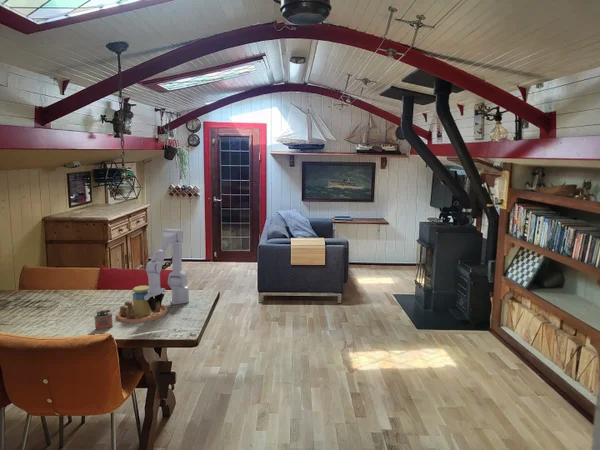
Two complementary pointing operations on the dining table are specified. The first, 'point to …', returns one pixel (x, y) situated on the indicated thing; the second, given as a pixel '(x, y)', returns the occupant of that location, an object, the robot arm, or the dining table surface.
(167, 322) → the dining table surface
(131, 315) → the seated bead
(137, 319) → the dish
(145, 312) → the jar
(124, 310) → the seated bead
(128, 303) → the seated bead
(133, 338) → the dining table surface
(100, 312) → the lighter
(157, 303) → the bead
